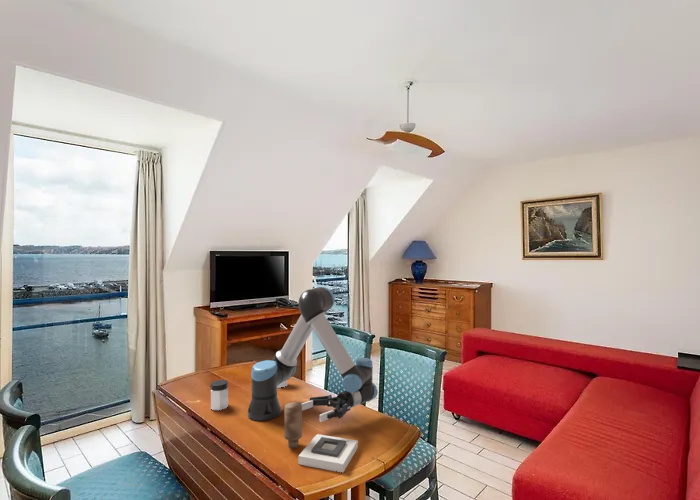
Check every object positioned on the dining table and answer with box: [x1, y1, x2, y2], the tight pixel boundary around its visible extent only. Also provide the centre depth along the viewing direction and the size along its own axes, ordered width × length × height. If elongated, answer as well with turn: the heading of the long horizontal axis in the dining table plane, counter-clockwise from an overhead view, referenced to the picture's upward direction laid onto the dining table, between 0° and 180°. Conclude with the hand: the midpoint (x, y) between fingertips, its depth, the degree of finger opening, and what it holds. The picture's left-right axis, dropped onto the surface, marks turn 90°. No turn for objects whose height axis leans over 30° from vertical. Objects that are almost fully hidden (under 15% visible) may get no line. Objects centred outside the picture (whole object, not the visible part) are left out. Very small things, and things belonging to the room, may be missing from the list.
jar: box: [209, 379, 229, 411], centre depth 187 cm, size 9×8×12 cm
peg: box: [284, 401, 303, 449], centre depth 150 cm, size 7×7×16 cm
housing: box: [297, 433, 359, 474], centre depth 143 cm, size 17×17×4 cm
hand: (309, 412), depth 155 cm, fingers open, 13 cm apart
